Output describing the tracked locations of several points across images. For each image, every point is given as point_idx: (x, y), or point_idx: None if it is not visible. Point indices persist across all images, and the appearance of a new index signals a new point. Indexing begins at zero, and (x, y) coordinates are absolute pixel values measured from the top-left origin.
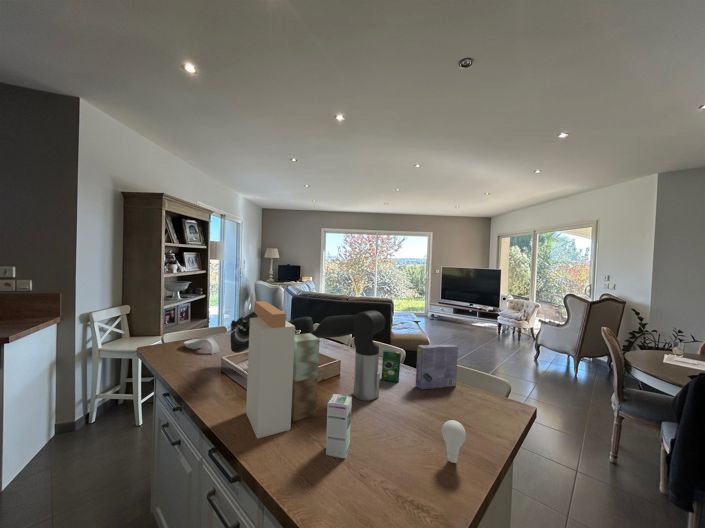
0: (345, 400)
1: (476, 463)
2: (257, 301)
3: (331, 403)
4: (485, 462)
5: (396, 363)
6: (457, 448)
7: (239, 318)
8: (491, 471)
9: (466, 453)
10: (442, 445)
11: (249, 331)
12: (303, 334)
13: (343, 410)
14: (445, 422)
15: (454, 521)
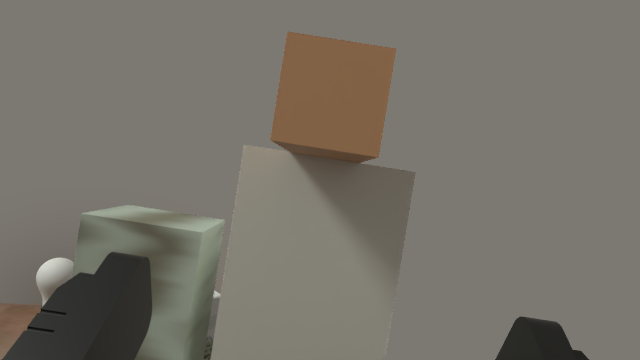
0: None
1: (28, 314)
2: (368, 47)
3: (217, 293)
4: (16, 310)
5: None
6: None
7: (575, 353)
8: (36, 307)
9: (6, 320)
10: (5, 336)
11: (402, 248)
12: (130, 219)
13: None
14: (57, 268)
15: None
